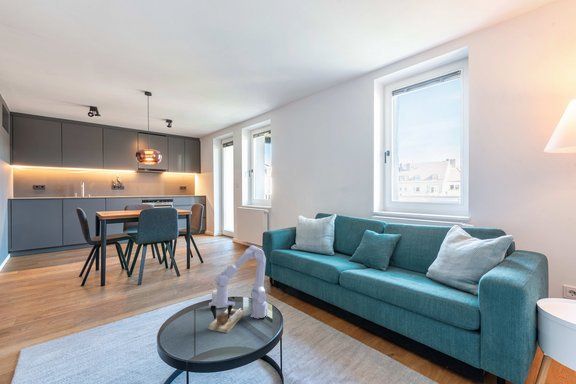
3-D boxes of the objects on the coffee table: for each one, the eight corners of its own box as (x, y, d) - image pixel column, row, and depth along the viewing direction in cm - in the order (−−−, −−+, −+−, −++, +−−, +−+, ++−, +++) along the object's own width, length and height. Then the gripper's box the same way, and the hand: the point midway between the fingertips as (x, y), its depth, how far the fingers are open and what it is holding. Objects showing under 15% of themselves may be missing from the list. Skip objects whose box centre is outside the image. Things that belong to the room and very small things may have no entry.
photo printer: (227, 304, 182) (227, 286, 181) (228, 307, 177) (227, 289, 177) (211, 306, 178) (211, 288, 178) (212, 309, 174) (211, 291, 173)
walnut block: (228, 321, 156) (228, 313, 156) (224, 325, 152) (223, 316, 152) (221, 320, 158) (221, 311, 157) (217, 324, 153) (216, 315, 153)
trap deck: (244, 313, 169) (244, 310, 169) (227, 332, 148) (227, 329, 148) (228, 311, 173) (228, 308, 172) (208, 329, 152) (208, 325, 151)
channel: (241, 311, 169) (241, 308, 168) (231, 321, 156) (231, 318, 156) (230, 309, 171) (230, 306, 171) (219, 319, 159) (219, 316, 158)
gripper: (235, 292, 158) (235, 314, 158) (210, 292, 157) (210, 314, 158) (233, 297, 151) (233, 320, 151) (207, 297, 150) (208, 321, 151)
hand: (222, 318), depth 154 cm, fingers open, 7 cm apart
